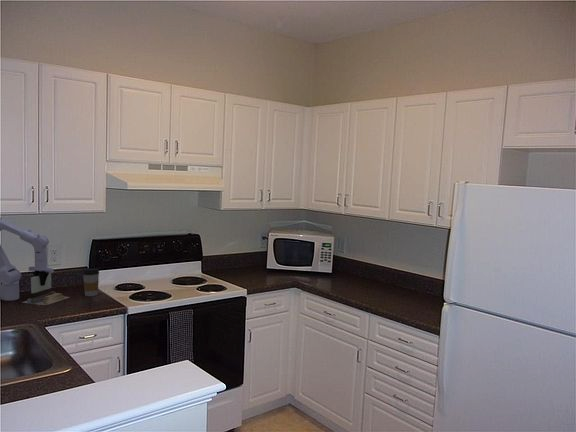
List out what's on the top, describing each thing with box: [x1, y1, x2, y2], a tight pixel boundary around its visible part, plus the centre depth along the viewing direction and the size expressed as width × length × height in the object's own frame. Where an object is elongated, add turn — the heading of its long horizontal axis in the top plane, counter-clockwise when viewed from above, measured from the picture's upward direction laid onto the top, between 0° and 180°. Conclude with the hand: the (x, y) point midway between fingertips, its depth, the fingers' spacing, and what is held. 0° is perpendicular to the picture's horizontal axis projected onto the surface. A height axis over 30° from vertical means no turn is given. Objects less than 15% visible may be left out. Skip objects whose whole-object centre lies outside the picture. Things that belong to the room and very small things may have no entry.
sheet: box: [30, 273, 52, 294], centre depth 246 cm, size 1×12×8 cm, turn 163°
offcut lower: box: [43, 295, 66, 304], centre depth 244 cm, size 4×10×2 cm, turn 163°
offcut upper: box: [45, 292, 63, 300], centre depth 244 cm, size 4×8×2 cm, turn 163°
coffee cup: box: [82, 267, 100, 297], centre depth 258 cm, size 8×8×15 cm
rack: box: [21, 291, 70, 306], centre depth 246 cm, size 15×17×3 cm
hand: (41, 285), depth 246 cm, fingers closed on sheet, 1 cm apart
